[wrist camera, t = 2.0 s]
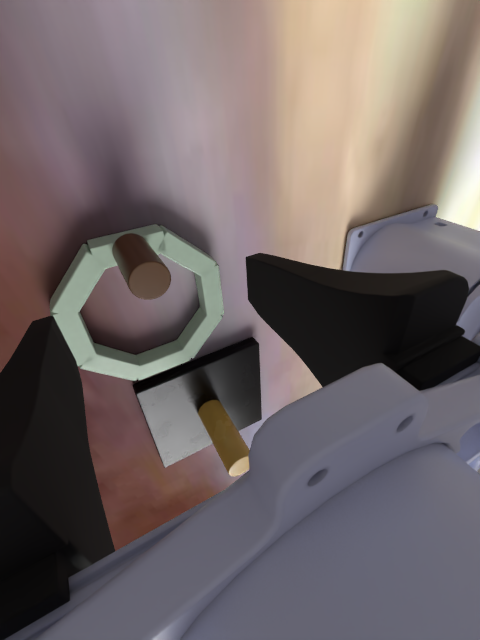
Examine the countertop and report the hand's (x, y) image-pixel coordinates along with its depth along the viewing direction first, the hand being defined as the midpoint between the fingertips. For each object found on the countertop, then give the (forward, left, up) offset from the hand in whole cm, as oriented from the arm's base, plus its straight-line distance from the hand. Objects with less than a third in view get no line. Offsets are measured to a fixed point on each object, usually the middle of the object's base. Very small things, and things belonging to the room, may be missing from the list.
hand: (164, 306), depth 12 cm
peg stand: (-3, +15, -7) cm, 16 cm away
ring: (0, +4, -7) cm, 8 cm away
